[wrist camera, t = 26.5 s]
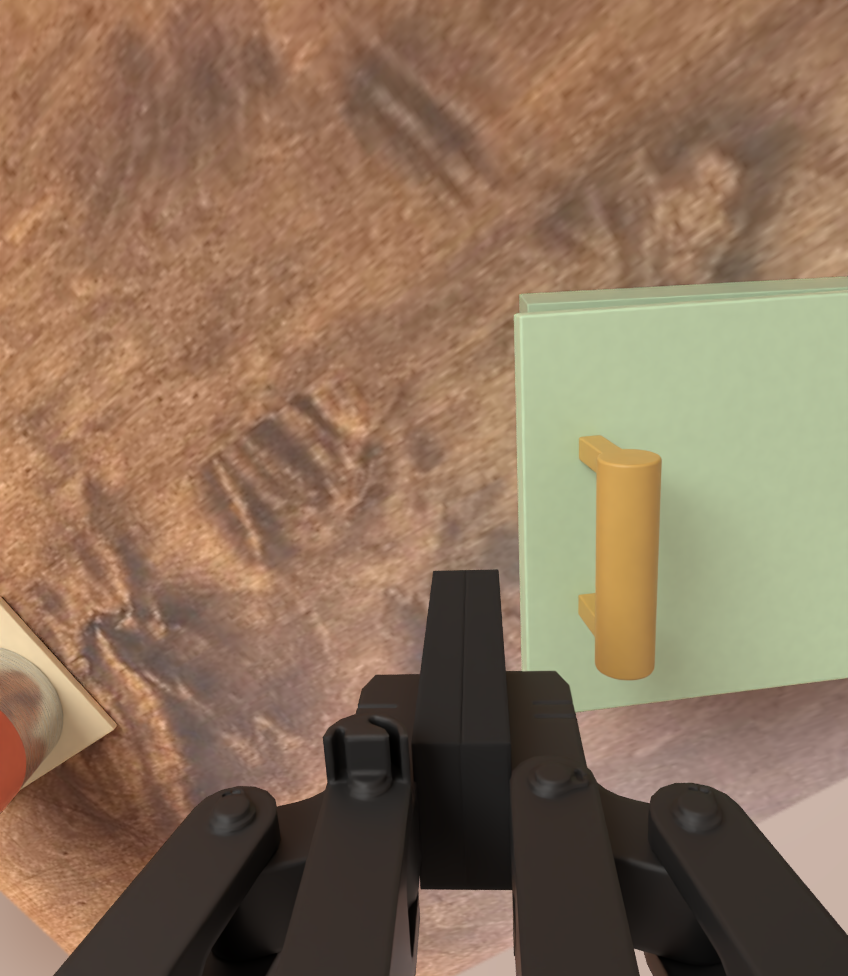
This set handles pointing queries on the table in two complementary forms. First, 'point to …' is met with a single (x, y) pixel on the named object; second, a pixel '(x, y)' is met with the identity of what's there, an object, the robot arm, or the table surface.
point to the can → (25, 722)
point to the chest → (674, 293)
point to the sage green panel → (684, 496)
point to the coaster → (79, 708)
